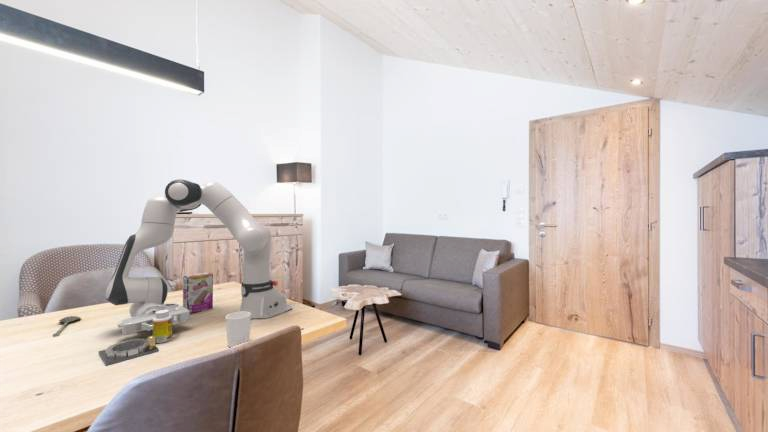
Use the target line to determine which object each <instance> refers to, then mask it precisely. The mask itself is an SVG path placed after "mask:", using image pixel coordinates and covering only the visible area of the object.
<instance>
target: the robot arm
mask: <svg viewBox="0 0 768 432" xmlns="http://www.w3.org/2000/svg"><path fill="white" fill-rule="evenodd" d="M201 205H203V206H205V207H206V208H207V209H208V210H209V211H210V212H211V213H212V214H213V215H214V216H215V217H216V218H217V219H218V220H219V221H220V222H221V223H222V224H223V225H224V226H225V227H226V228H227V230H228V231H229V232H230V233H231V235H232V237H233V238H234V239H235V240H236V242H237V243H238V244H239V246H240V247H241V248H242V249H243V250H244V253H243V259H242V261H243V262H242V265H241V266H242V282H241V291H240V292H241V305H240V309H239V312H241V311H246V312H250V313H251V319H269V318H272V317H275V316H278V315H280V314H283V313H286V312H288V310H289V311H291V310H292V309H293V306H292V305H291V304H289V303H288V302H287V298H286V295H284V294H283V293H282V292H281V291H279V290H278V289H276V288H274V287H277V286H278V284H279V282H278V281H276V280H271V279H270V275H271V274H270V271H271V270H270V269H271V267H270V266H271V265H270V264H271V262H270V259H271V249H272V248H271V247H272V233H271V230H270V229H269V228H268V227H267V226H266V225H264V224H261V223H258V222H257V221H256V219H255V218H254V217H253V215H252V214H251V213H250V212H249V210H248V209H247V208H246V206H244V205H243V203H241V201H239V200H238V198H237V197H236V196H235V195H234V194H233V193H232V192H230V191H229V190H228V189H227V188H226V187H224V186H223V185H222V184H221V183H219V182H217V181H215V180H214V181H213V180H212V181H208V182H205V183H204V184H202V185H200V184H199V183H195V182H192V181H190V180H187V179H175V180H172V181H170V182H169V183H168V184H167V185H166V186H165V188H164V196H162V195H160V196H159V195H158V196H153V197H150V198H149V199H148V200H147V201H146V203H145V207H144V209H143V212H142V217H141V223H140V227H139V228H138V230H137V231H136V232H135V233H134V234H131V235H130V236H129V237H128V238H127V240H126V242H125V244H124V247H123V248H122V251H121V254H120V256H119V259H118V261H117V264H116V267H115V270H114V272H113V275H112V277H111V280H110V282H109V283H108V285H107V287H106V291H105V300H106V301H108V303H110V304H112V305H113V306H121V305H128V304H130V307H129V315H130V317H129V318H124V319H123V320H122V321H121V322H119V323H117V327H118V328H121V333H122V335H130V334H133V333H139V332H143V331H148V332H149V331H153V330H154V328H153V327H154V325H153V318H155V313H156V312H157V311H160V310H169V315H171V316H172V326H175V325H177V323H178V324H179V323H182V322H185V321H186V322H187V321H189V320H190V315H191V313H189V310H188V309H186V308H184V307H183V306H181V305H180V304H178V303H166V304H165V302H166V299H167V297H168V290H169V289H168V285H167V283H166V281H165V280H164V279H163V278H162V277H160V276H146V277H145V276H144V277H139V276H138V277H132V276H131V277H129V275H130V271H131V269H132V266H133V263H134V261H135V258H136V256H137V255H139V253H141V252H142V251H145V250H149V249H152V248H155V247H158V246H162V245H164V244H166V243H168V242H169V241H170V240H171V238H172V237H173V235H174V231H175V223H176V217H177V214H178V213H183V212H189V211H194V210H196V209H198V208H199V207H201ZM163 303H164V304H163ZM290 309H291V310H290ZM285 311H286V312H285Z"/></svg>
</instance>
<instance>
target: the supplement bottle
mask: <svg viewBox="0 0 768 432" xmlns="http://www.w3.org/2000/svg"><path fill="white" fill-rule="evenodd" d="M153 325H154V327H153V328H154V330H152V335H155V344H163V343H166V342H169V341H170V340H172V338H173V325H172V316H171V315H169V310H160V311H157V312H156V313H155V318H153Z"/></svg>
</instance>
